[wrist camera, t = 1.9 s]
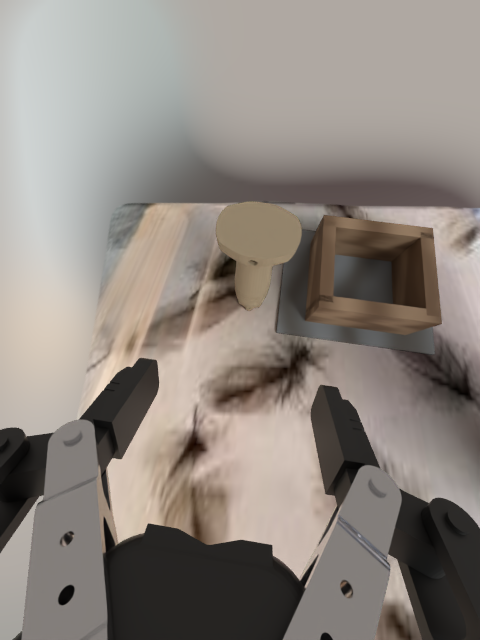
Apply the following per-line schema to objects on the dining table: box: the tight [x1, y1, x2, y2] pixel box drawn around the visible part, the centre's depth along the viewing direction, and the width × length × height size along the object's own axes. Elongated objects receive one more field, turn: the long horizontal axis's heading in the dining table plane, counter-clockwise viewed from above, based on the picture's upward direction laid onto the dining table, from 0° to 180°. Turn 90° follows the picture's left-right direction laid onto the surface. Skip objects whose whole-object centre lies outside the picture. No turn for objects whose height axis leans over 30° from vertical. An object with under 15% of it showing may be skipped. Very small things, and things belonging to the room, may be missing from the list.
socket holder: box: [276, 215, 442, 355], centre depth 30 cm, size 20×16×6 cm
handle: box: [216, 201, 302, 311], centre depth 25 cm, size 5×6×15 cm
